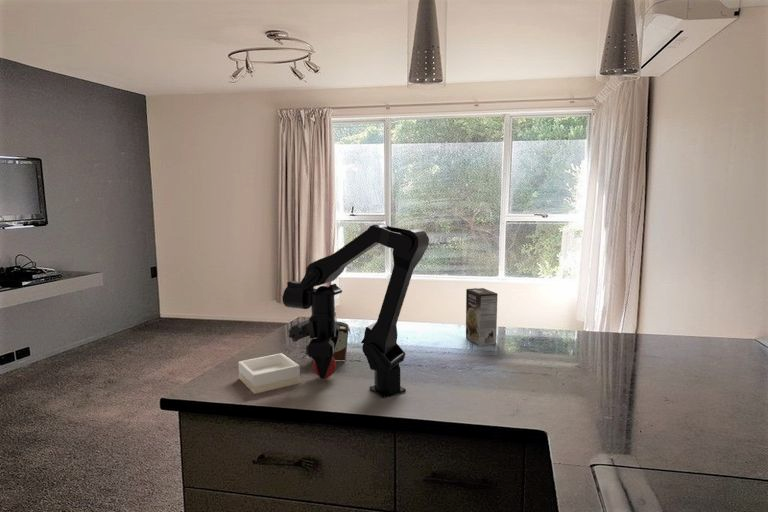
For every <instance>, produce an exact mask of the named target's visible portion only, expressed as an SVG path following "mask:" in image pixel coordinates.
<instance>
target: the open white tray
mask: <svg viewBox="0 0 768 512" xmlns="http://www.w3.org/2000/svg"><path fill="white" fill-rule="evenodd" d="M238 372H239V373H238V379H239V380H240V381H241V382H242V383H243V384H244V385H245V386H246V388H248V389H249V390H250V392H252V394H254V395H256V394H259V393H265V392H268V391H271V390H276V389H281V388H285V387H289V386H293V385H298V384H301V377H300V375H301V369H300V365H299V364H298V363H297V362H295V361H293V360H292V359H291V358H290V357H288V356H286V355H285V354H284V353H281V352H280V353H276V354H270V355H265V356H260V357H254V358H249V359H244V360H240V361H238Z"/></svg>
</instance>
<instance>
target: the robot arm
mask: <svg viewBox="0 0 768 512" xmlns="http://www.w3.org/2000/svg"><path fill="white" fill-rule="evenodd" d="M379 244H380V245H382V246H385V247H386V248H389V249H392V258H393V259H392V260H393V268H392V271H391V275H390V277H389V280H388V285H387V288H386V291H385V295H384V298H383V300H382V304H381V307H380V311H379V314H378V317H377V320H376V322H374V323H372V324H370V325H368V326H366V327H365V330H364V335H363V338H362V340H361V341H360V344H362V348H361V350H362V353H363V354H364V356H365V357H366V359H367V363H368V365H369V369H370V370H372V371H374V372H373V373H374V385H370V386H369V387H368V388H369V390H371V391H372V392H374V393H375V394H377V395H379V396H380V397H382V398H387V397H391V396H395V395H397V394H402V393H405V392H407V389H406V388H405V387H404V386H402V385H401V367H400V364H401V363H403V362H404V360H405V356H406V352H405V351H404V350H403V349H402V347H401V346H400V345H399V344H398V343H397V341H398V328H397V323H398V320H399V316H400V315H401V311H402V308H403V304H404V301H405V297H406V295H407V291H408V288H409V285H410V282H411V279H412V276H413V272H414V271H415V268H416V267H417V266H418V264H419V263H420V261H421V260H422V258H423V256H424V255H425V253H426V251H427V249H428V247H429V245H430V238H429V236H428V234H427V232H426V231H425V230H424V229H422V228H418V227H415V228H409V229H406V228H401V227H395V226H390V225H386V224H385V223H376V224H371V225H370V226H369V227H368V228H367V229H366V230H364V231H363V232H362V233H360V234H359V235H358V236H357V237H354V239H352V240H351V241H349V242H347V243H346V244H345V245H344V246H342V247H340V248H339V249H338V250H336V251H335V252H334V253H332V254H330V255H328V256H327V255H326V256H324V257H322V258H319V259H318V260H315V261H312V262H311V263H309V264H308V265H307V266H306V271H305V275H304V276H303V278H302V279H301V281H297V280H290V281H287V282H286V284H287V285H286V288H285V289H284V290H283V295H282V303H283V305H284V307H286V308H292V309H301V310H308V309H311V315H310V317H309V319H306V320H304V321H301V322H298V323H296V324H293V325H291V326H290V327H289V328H288V330H287V331H288V337H289V338H290V339H291V341H292V342H293V343H296V342H298V341H299V340H301V339H304V338H306V337H309V341H308V342H307V344H306V346H305V353H306V354H305V355H306V356H307V357H309V358H313V359H314V360H315V362H316V366H317V369H318V372H319V376H320V377H319V376H318V377H319V378H320V379H322V380H324V378H325V376H326V373H327V370H328V368H329V365H330V362H331V359H332V356H333V353H334V349H335V346H336V343H337V340H338V337H339V326H338V325H337V324H336V323H335V321H336V317H337V315H336V314H337V313H336V311H335V310H336V309H335V308H336V307H335V306H336V305H335V296H336V295H339V294H342V293H343V290H342V289H341V288H340V287H339V286H338V284H336V283H332V282H334V281H335V280H337V278H338V277H339V276H340V275H341V274H342V273H344V270H345V269H346V267H347V266H349V265H350V264H351V263H352V262H354V261H355V260H357V259H358V258H360V257H361V256H362V255H364V254H365V253H367V252H369V251H370V250H372V249H373V248H374V247H376V246H377V245H379ZM328 283H332V284H330V285H329V286H328V285H327V286H326V285H325V284H328ZM314 287H317V288H314ZM335 334H336V335H335ZM310 338H315V339H311V340H310ZM313 359H312V360H313Z"/></svg>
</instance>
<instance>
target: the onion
mask: <svg viewBox="0 0 768 512" xmlns="http://www.w3.org/2000/svg"><path fill="white" fill-rule="evenodd" d="M312 369H313V372H314V373H315V374H316V375H317V376H318V377H319V378H320V376H319V372H318V369H317V366H316V362H315V360H314V361H313V362H312ZM336 369H337V361H335V359H334V357H333V356H332V359H331V362H330V365H329V368H328V370H327V373H326V376H325V378H324V379H325V380H327V379H328V378H329V377H331V376H332V375H333V374H334V373H335V372H336ZM324 379H323V380H324Z"/></svg>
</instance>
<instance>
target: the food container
mask: <svg viewBox="0 0 768 512" xmlns="http://www.w3.org/2000/svg"><path fill="white" fill-rule="evenodd" d="M335 323H336V324H337V325H338V326H339V337H338V340H337V343H336V346H335V349H334V353H333V357H334V359H335V360H345V361H347V351H348V339H349V334H351V328H350V327H349V324H348V323H346V322H342V321H337V320H335ZM335 335H336V334H335ZM311 339H315V338H309V341H310V340H311ZM313 360H314V359H313V358H312V361H313Z"/></svg>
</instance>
